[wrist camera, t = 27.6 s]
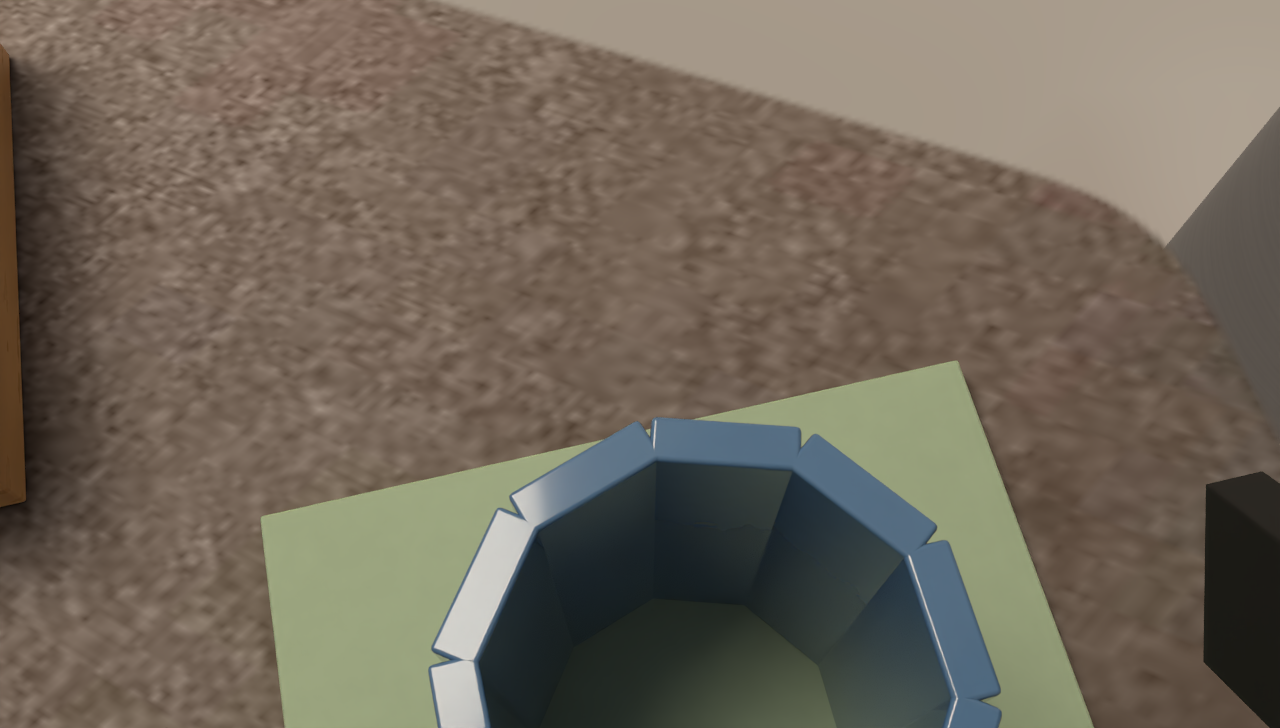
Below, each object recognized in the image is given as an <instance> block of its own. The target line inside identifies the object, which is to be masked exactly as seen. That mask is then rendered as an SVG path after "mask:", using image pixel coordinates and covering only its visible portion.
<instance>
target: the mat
mask: <svg viewBox="0 0 1280 728" xmlns="http://www.w3.org/2000/svg"><path fill="white" fill-rule="evenodd" d="M693 420H706V421H720V422H735V423H750V424H764V425H779V426H793V427H798V428H800V430H801V432H802V441H801V447H802V446H803V445H804V444H805V443H806V441H807V440H808V439H809V438H810V437H811V435H813V434H818V435H820V436H821V437H822V438H824V439H825V440H826V441H828V442H829V443H830V444H832V445H833V446H834V447H836V448H837V449H838V450H840V451H841V452H842V453H844V454H845V455H846V456H847V457H849V458H850V459H851V460H853V461H854V462H855V463H857V464H858V465H859V466H861V467H862V468H863V469H865V470H866V471H867V472H869V473H870V474H871V475H873V476H874V477H875V478H876V479H878V480H879V481H880V482H882V483H883V484H884V485H886V486H887V487H888V488H890V489H891V490H892V491H894V492H895V493H896V494H898V495H899V496H900V497H901V498H903V499H904V500H905V501H907V502H908V503H909V504H911V505H912V506H913V507H915V508H916V509H917V510H919V511H920V512H921V513H923V514H924V515H925V516H927V517H928V518H929V519H930V520H932V521H933V522H934V523H936V525H937V531H936V532H935V533H934V534H933V536H932V537H931V538H930V540H929V541H928V542H927V543H931V542H935V541H939V540H947V541H948V542H949V543H950V545H951V548H952V551H953V554H954V557H955V559H956V562H957V565H958V568H959V571H960V574H961V576H962V579H963V582H964V585H965V588H966V591H967V593H968V596H969V599H970V602H971V605H972V608H973V610H974V613H975V616H976V619H977V622H978V625H979V627H980V630H981V633H982V636H983V639H984V641H985V644H986V647H987V650H988V653H989V656H990V658H991V661H992V664H993V667H994V670H995V673H996V675H997V678H998V681H999V684H1000V687H1001V693H1000V694H999V695H998V696H997V697H995V698H993V699H991V700H989V701H987V702H986V703H988V704H991V705H993V706H996V707H998V708H999V709H1000V710H1001V711H1002V718H1001V722H1000V725H999V728H1094V726H1093V723H1092V720H1091V718H1090V715H1089V712H1088V710H1087V707H1086V704H1085V702H1084V699H1083V696H1082V693H1081V691H1080V688H1079V685H1078V683H1077V680H1076V677H1075V675H1074V672H1073V669H1072V667H1071V664H1070V661H1069V659H1068V656H1067V653H1066V650H1065V648H1064V645H1063V642H1062V640H1061V637H1060V634H1059V632H1058V629H1057V626H1056V624H1055V621H1054V618H1053V615H1052V613H1051V610H1050V607H1049V605H1048V602H1047V599H1046V597H1045V594H1044V591H1043V589H1042V586H1041V583H1040V580H1039V578H1038V575H1037V572H1036V570H1035V567H1034V564H1033V562H1032V559H1031V556H1030V554H1029V551H1028V548H1027V546H1026V543H1025V540H1024V537H1023V535H1022V532H1021V529H1020V527H1019V524H1018V521H1017V519H1016V516H1015V513H1014V511H1013V508H1012V505H1011V502H1010V500H1009V497H1008V494H1007V492H1006V489H1005V486H1004V484H1003V481H1002V478H1001V476H1000V473H999V470H998V467H997V465H996V462H995V459H994V457H993V454H992V451H991V449H990V446H989V443H988V441H987V438H986V435H985V433H984V430H983V427H982V424H981V422H980V419H979V416H978V414H977V411H976V408H975V406H974V403H973V400H972V398H971V395H970V392H969V389H968V387H967V384H966V381H965V379H964V376H963V373H962V371H961V368H960V365H959V363H958V361H951V362H946V363H942V364H937V365H933V366H929V367H924V368H920V369H915V370H911V371H906V372H902V373H897V374H893V375H888V376H884V377H880V378H875V379H871V380H866V381H862V382H857V383H853V384H848V385H844V386H840V387H835V388H831V389H826V390H822V391H817V392H813V393H808V394H804V395H799V396H795V397H791V398H786V399H782V400H777V401H773V402H768V403H764V404H759V405H755V406H751V407H746V408H742V409H737V410H733V411H728V412H724V413H719V414H715V415H710V416H706V417H702V418H697V419H693ZM646 432H647V433H648V435H649V436H650V429H648V430H646ZM600 441H602V440H599V441H595V442H590V443H586V444H581V445H577V446H573V447H568V448H564V449H559V450H555V451H550V452H546V453H541V454H537V455H532V456H528V457H524V458H519V459H515V460H510V461H506V462H501V463H497V464H492V465H488V466H484V467H479V468H475V469H470V470H466V471H461V472H457V473H452V474H448V475H443V476H439V477H435V478H430V479H426V480H421V481H417V482H412V483H408V484H403V485H399V486H395V487H390V488H386V489H381V490H377V491H372V492H368V493H363V494H359V495H354V496H350V497H346V498H341V499H337V500H332V501H328V502H323V503H319V504H314V505H310V506H306V507H301V508H297V509H292V510H288V511H283V512H279V513H274V514H270V515H265V516H262V517H261V519H260V520H261V529H262V538H263V546H264V555H265V563H266V572H267V580H268V589H269V597H270V606H271V615H272V623H273V632H274V640H275V649H276V657H277V666H278V674H279V683H280V691H281V700H282V709H283V717H284V726H285V728H438V727H437V721H436V716H435V710H434V704H433V698H432V692H431V687H430V681H429V675H428V668H429V667H430V666H431V665H433V664H437V663H441V662H442V661H441V660H440V659H439V658H438V657H437V656H436V655H435V654H434V653H433V652H432V651H431V646H432V644H433V642H434V639H435V637H436V635H437V633H438V631H439V629H440V627H441V625H442V623H443V620H444V618H445V616H446V614H447V612H448V610H449V608H450V606H451V603H452V601H453V599H454V597H455V595H456V593H457V591H458V589H459V587H460V584H461V582H462V580H463V578H464V576H465V574H466V572H467V570H468V567H469V565H470V563H471V561H472V559H473V557H474V555H475V553H476V550H477V548H478V546H479V544H480V542H481V540H482V538H483V536H484V534H485V531H486V529H487V527H488V525H489V523H490V521H491V519H492V517H493V514H494V512H495V510H496V509H497V508H504V509H507V510H509V511H512V512H514V511H513V508H512V506H511V503H510V500H509V496H510V494H511V493H513V492H514V491H516V490H518V489H519V488H521V487H523V486H525V485H526V484H528V483H530V482H531V481H533V480H535V479H537V478H538V477H540V476H542V475H544V474H545V473H547V472H549V471H550V470H552V469H554V468H556V467H557V466H559V465H561V464H562V463H564V462H566V461H568V460H569V459H571V458H573V457H575V456H576V455H578V454H580V453H581V452H583V451H585V450H587V449H588V448H590V447H592V446H593V445H595V444H597V443H599V442H600ZM540 728H837V727H836V724H835V720H834V717H833V714H832V710H831V707H830V704H829V700H828V697H827V694H826V690H825V687H824V683H823V680H822V677H821V673H820V670H819V667H818V665H817V664H815V663H814V662H813V661H812V660H810V659H809V658H808V657H807V656H806V655H804V654H803V653H802V652H801V651H800V650H798V649H797V648H796V647H795V646H793V645H792V644H791V643H790V642H789V641H787V640H786V639H785V638H784V637H782V636H781V635H780V634H779V633H778V632H776V631H775V630H774V629H773V628H772V627H770V626H769V625H768V624H767V623H765V622H764V621H763V620H762V619H761V618H759V617H758V616H757V615H756V614H754V613H753V612H752V611H751V610H750V609H748V608H747V607H746V606H745V605H734V604H720V603H707V602H693V601H680V600H666V599H651V600H650V601H648V602H647V603H645V604H643V605H642V606H640V607H639V608H637V609H635V610H634V611H632V612H630V613H629V614H627V615H626V616H624V617H622V618H621V619H619V620H617V621H616V622H614V623H613V624H611V625H609V626H608V627H606V628H605V629H603V630H601V631H600V632H598V633H596V634H595V635H593V636H592V637H590V638H588V639H587V640H585V641H583V642H582V643H580V644H579V645H577V646H575V647H574V648H573V651H572V653H571V655H570V658H569V660H568V662H567V665H566V667H565V669H564V672H563V674H562V676H561V679H560V681H559V683H558V686H557V688H556V690H555V693H554V695H553V697H552V700H551V702H550V705H549V707H548V709H547V712H546V714H545V716H544V719H543V721H542V723H541V726H540Z"/></svg>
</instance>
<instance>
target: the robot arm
mask: <svg viewBox="0 0 1280 728" xmlns="http://www.w3.org/2000/svg"><path fill="white" fill-rule="evenodd" d="M1204 663H1205V664H1206V665H1207V666H1208V667H1209V668H1210V669H1211V670H1212V671H1213V672H1214V673H1215V674H1216V675H1217V676H1218V677H1219V678H1220V679H1221V680H1222V681H1223V682H1224V683H1225V684H1226V685H1227V686H1228V687H1229V688H1230V689H1231V690H1232V691H1233V692H1234V693H1235V694H1236V695H1237V696H1238V697H1239V698H1240V699H1241V700H1242V701H1243V702H1244V703H1245V704H1246V705H1247V706H1248V707H1249V708H1250V709H1251V710H1252V711H1253V712H1254V713H1255V714H1256V715H1257V716H1258V717H1259V718H1261V719H1262V720H1263V721H1264V722H1265V723H1266V724H1267V725H1268V726H1269V727H1270V728H1280V483H1278V482H1277V481H1275V480H1274V479H1272V478H1271V477H1270V476H1268V475H1267V474H1265V473H1264V472H1258V473H1253V474H1249V475H1245V476H1241V477H1236V478H1232V479H1228V480H1224V481H1219V482H1215V483H1211V484H1206V528H1205V596H1204Z"/></svg>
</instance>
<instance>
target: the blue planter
mask: <svg viewBox="0 0 1280 728" xmlns="http://www.w3.org/2000/svg"><path fill="white" fill-rule="evenodd" d="M801 441H802V432H801V430H800V428H798V427H793V426H779V425H764V424H750V423H735V422H720V421H706V420H691V419H677V418H662V417H656V418H653V419H652V421H651V429H650V436H649V435H648V433H647V432H646V430H645V429H644V427H643V426H642V424H641V423H640V422H638V421H636V422H633V423H631V424H630V425H628V426H626V427H624V428H623V429H621V430H619V431H618V432H616V433H614V434H612V435H611V436H609V437H607V438H606V439H604V440H602V441H600V442H599V443H597V444H595V445H593V446H592V447H590V448H588V449H587V450H585V451H583V452H581V453H580V454H578V455H576V456H575V457H573V458H571V459H569V460H568V461H566V462H564V463H562V464H561V465H559V466H557V467H556V468H554V469H552V470H550V471H549V472H547V473H545V474H544V475H542V476H540V477H538V478H537V479H535V480H533V481H531V482H530V483H528V484H526V485H525V486H523V487H521V488H519V489H518V490H516V491H514V492H513V493H511V494H510V496H509V500H510V503H511V506H512V508H513V511H514V512H512V511H509V510H507V509H504V508H497V509H496V510H495V512H494V514H493V517H492V519H491V521H490V523H489V525H488V527H487V529H486V531H485V534H484V536H483V538H482V540H481V542H480V544H479V546H478V548H477V550H476V553H475V555H474V557H473V559H472V561H471V563H470V565H469V567H468V570H467V572H466V574H465V576H464V578H463V580H462V582H461V584H460V587H459V589H458V591H457V593H456V595H455V597H454V599H453V601H452V603H451V606H450V608H449V610H448V612H447V614H446V616H445V618H444V620H443V623H442V625H441V627H440V629H439V631H438V633H437V635H436V637H435V639H434V642H433V644H432V646H431V651H432V652H433V653H434V654H435V655H436V656H437V657H438V658H439V659H440V660H441V661H442V662H441V663H437V664H433V665H431V666H430V667H429V668H428V675H429V681H430V687H431V692H432V698H433V704H434V710H435V716H436V721H437V727H438V728H540V726H541V723H542V721H543V719H544V716H545V714H546V712H547V709H548V707H549V705H550V702H551V700H552V697H553V695H554V693H555V690H556V688H557V686H558V683H559V681H560V679H561V676H562V674H563V672H564V669H565V667H566V665H567V662H568V660H569V658H570V655H571V653H572V651H573V648H574V647H575V646H577V645H579V644H580V643H582V642H583V641H585V640H587V639H588V638H590V637H592V636H593V635H595V634H596V633H598V632H600V631H601V630H603V629H605V628H606V627H608V626H609V625H611V624H613V623H614V622H616V621H617V620H619V619H621V618H622V617H624V616H626V615H627V614H629V613H630V612H632V611H634V610H635V609H637V608H639V607H640V606H642V605H643V604H645V603H647V602H648V601H650V600H651V599H666V600H680V601H693V602H707V603H720V604H734V605H745V606H746V607H747V608H748V609H750V610H751V611H752V612H753V613H754V614H756V615H757V616H758V617H759V618H761V619H762V620H763V621H764V622H765V623H767V624H768V625H769V626H770V627H772V628H773V629H774V630H775V631H776V632H778V633H779V634H780V635H781V636H782V637H784V638H785V639H786V640H787V641H789V642H790V643H791V644H792V645H793V646H795V647H796V648H797V649H798V650H800V651H801V652H802V653H803V654H804V655H806V656H807V657H808V658H809V659H810V660H812V661H813V662H814V663H815V664H817V665H818V667H819V670H820V673H821V677H822V680H823V683H824V687H825V690H826V694H827V697H828V700H829V704H830V707H831V710H832V714H833V717H834V720H835V724H836V727H837V728H999V725H1000V722H1001V718H1002V711H1001V710H1000V709H999V708H998V707H996V706H993V705H991V704H988V703H986V702H987V701H989V700H991V699H993V698H995V697H997V696H998V695H999V694H1000V693H1001V687H1000V684H999V681H998V678H997V675H996V673H995V670H994V667H993V664H992V661H991V658H990V656H989V653H988V650H987V647H986V644H985V641H984V639H983V636H982V633H981V630H980V627H979V625H978V622H977V619H976V616H975V613H974V610H973V608H972V605H971V602H970V599H969V596H968V593H967V591H966V588H965V585H964V582H963V579H962V576H961V574H960V571H959V568H958V565H957V562H956V559H955V557H954V554H953V551H952V548H951V545H950V543H949V542H948V541H947V540H939V541H935V542H931V543H927V542H928V541H929V540H930V538H931V537H932V536H933V534H934V533H935V532H936V531H937V525H936V523H934V522H933V521H932V520H930V519H929V518H928V517H927V516H925V515H924V514H923V513H921V512H920V511H919V510H917V509H916V508H915V507H913V506H912V505H911V504H909V503H908V502H907V501H905V500H904V499H903V498H901V497H900V496H899V495H898V494H896V493H895V492H894V491H892V490H891V489H890V488H888V487H887V486H886V485H884V484H883V483H882V482H880V481H879V480H878V479H876V478H875V477H874V476H873V475H871V474H870V473H869V472H867V471H866V470H865V469H863V468H862V467H861V466H859V465H858V464H857V463H855V462H854V461H853V460H851V459H850V458H849V457H847V456H846V455H845V454H844V453H842V452H841V451H840V450H838V449H837V448H836V447H834V446H833V445H832V444H830V443H829V442H828V441H826V440H825V439H824V438H822V437H821V436H820V435H818V434H813V435H811V437H810V438H809V439H808V440H807V441H806V443H805V444H804V445H803V446H802V447H801Z"/></svg>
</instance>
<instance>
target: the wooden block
mask: <svg viewBox="0 0 1280 728" xmlns="http://www.w3.org/2000/svg"><path fill="white" fill-rule="evenodd" d="M24 501H26V482H25V456H24V430H23V404H22V378H21V352H20V326H19V300H18V274H17V248H16V222H15V196H14V169H13V143H12V117H11V91H10V65H9V54H8V53H7V52H6V50H5V49H4V48H3V47H2V45H1V44H0V507H3V506H7V505H12V504H16V503H21V502H24Z"/></svg>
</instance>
